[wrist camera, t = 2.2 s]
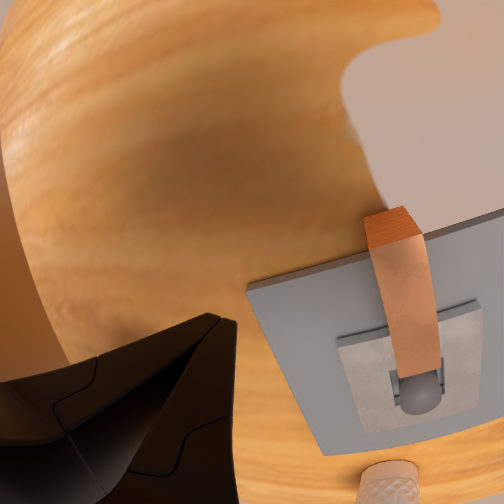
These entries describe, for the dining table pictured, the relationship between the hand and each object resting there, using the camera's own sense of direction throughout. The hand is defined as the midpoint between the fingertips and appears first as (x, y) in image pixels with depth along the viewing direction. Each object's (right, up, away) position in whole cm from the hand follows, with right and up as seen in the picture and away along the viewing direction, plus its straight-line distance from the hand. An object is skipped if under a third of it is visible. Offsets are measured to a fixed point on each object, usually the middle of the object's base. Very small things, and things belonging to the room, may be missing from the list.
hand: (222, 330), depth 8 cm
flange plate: (+11, -4, +10) cm, 16 cm away
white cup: (+17, -23, +18) cm, 34 cm away
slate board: (+13, -6, +12) cm, 19 cm away
